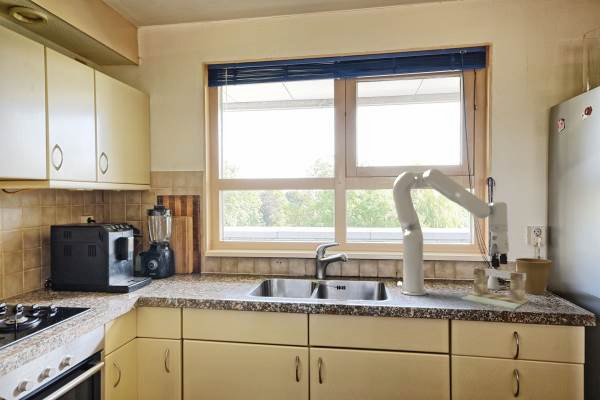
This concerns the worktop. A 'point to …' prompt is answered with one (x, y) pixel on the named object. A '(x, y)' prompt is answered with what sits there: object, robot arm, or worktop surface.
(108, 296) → the worktop surface
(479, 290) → the rail rack
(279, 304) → the worktop surface
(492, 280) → the flask
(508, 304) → the mat
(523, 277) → the rail
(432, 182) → the robot arm
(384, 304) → the worktop surface
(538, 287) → the plant pot
